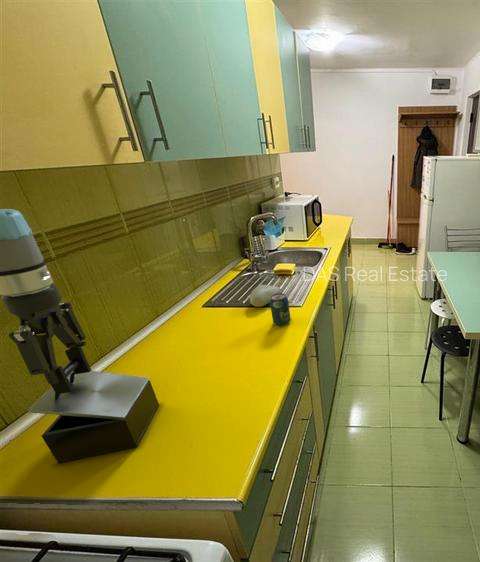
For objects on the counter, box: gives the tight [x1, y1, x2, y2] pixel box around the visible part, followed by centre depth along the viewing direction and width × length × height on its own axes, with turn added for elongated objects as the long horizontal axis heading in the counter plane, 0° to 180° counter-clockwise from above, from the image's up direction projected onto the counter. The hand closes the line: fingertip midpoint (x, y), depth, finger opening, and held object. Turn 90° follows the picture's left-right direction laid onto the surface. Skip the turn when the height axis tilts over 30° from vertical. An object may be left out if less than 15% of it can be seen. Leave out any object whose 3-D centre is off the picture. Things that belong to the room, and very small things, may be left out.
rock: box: [249, 284, 282, 308], centre depth 141 cm, size 8×11×20 cm
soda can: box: [269, 292, 292, 327], centre depth 122 cm, size 7×7×12 cm
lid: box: [27, 359, 150, 420], centre depth 70 cm, size 17×14×7 cm
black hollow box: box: [40, 379, 160, 464], centre depth 74 cm, size 16×14×9 cm
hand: (74, 381), depth 69 cm, fingers closed on lid, 6 cm apart
